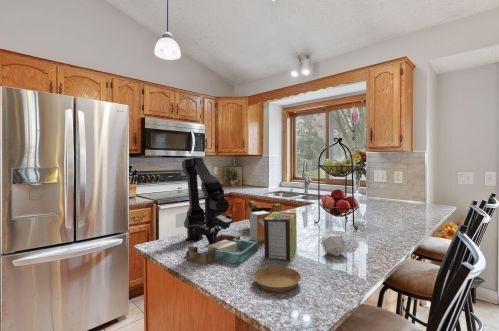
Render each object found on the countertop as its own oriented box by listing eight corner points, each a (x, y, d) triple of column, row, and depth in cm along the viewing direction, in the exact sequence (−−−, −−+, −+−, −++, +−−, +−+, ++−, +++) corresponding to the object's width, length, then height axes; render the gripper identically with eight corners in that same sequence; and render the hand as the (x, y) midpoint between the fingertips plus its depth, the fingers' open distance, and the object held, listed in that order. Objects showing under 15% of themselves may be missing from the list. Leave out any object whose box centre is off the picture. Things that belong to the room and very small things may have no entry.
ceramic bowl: (288, 229, 145) (288, 202, 145) (268, 235, 133) (267, 206, 133) (259, 222, 161) (259, 198, 161) (238, 228, 149) (238, 201, 149)
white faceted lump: (327, 260, 101) (343, 241, 99) (314, 244, 108) (329, 226, 106) (338, 262, 106) (354, 245, 104) (325, 246, 113) (339, 230, 111)
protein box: (296, 248, 114) (296, 212, 114) (290, 261, 99) (290, 220, 99) (273, 246, 117) (272, 211, 117) (263, 258, 103) (263, 218, 102)
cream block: (207, 255, 108) (207, 245, 108) (225, 248, 115) (225, 239, 115) (219, 259, 103) (219, 248, 103) (236, 252, 111) (236, 242, 111)
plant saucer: (282, 301, 71) (282, 292, 71) (243, 284, 81) (243, 276, 81) (310, 282, 82) (310, 274, 82) (272, 270, 92) (272, 262, 92)
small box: (257, 242, 122) (257, 214, 122) (249, 239, 128) (249, 212, 127) (271, 239, 127) (270, 212, 127) (263, 236, 132) (263, 210, 132)
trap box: (180, 259, 103) (180, 250, 102) (215, 240, 126) (215, 233, 126) (234, 269, 92) (234, 259, 92) (262, 246, 116) (262, 239, 116)
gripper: (216, 215, 99) (216, 256, 100) (238, 207, 116) (239, 242, 117) (192, 213, 104) (192, 252, 104) (217, 205, 121) (217, 239, 121)
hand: (212, 246), depth 111 cm, fingers closed
